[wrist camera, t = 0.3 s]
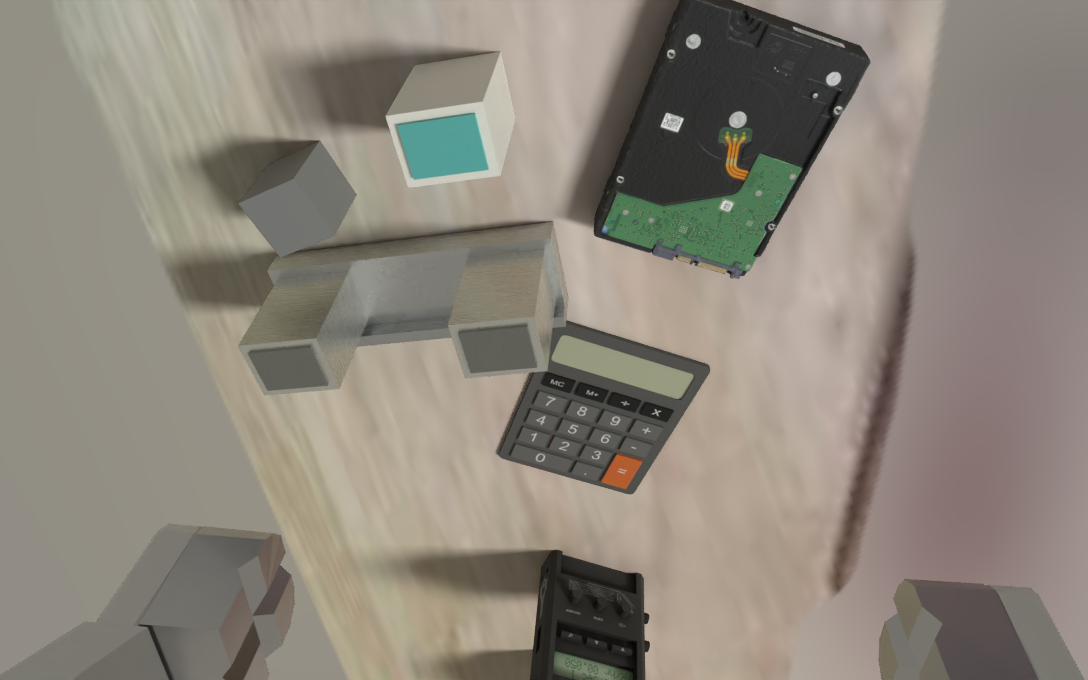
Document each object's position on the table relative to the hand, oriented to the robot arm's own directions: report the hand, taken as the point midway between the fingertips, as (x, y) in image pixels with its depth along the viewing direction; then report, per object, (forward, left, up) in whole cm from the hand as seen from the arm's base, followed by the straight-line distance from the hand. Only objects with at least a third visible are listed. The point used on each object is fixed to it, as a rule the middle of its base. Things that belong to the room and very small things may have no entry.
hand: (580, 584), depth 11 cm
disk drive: (+12, +4, -38) cm, 40 cm away
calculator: (+33, -5, -38) cm, 51 cm away
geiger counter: (+53, -8, -38) cm, 66 cm away
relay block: (+11, -20, -38) cm, 44 cm away
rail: (+19, -15, -38) cm, 45 cm away
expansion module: (+7, -9, -38) cm, 39 cm away
